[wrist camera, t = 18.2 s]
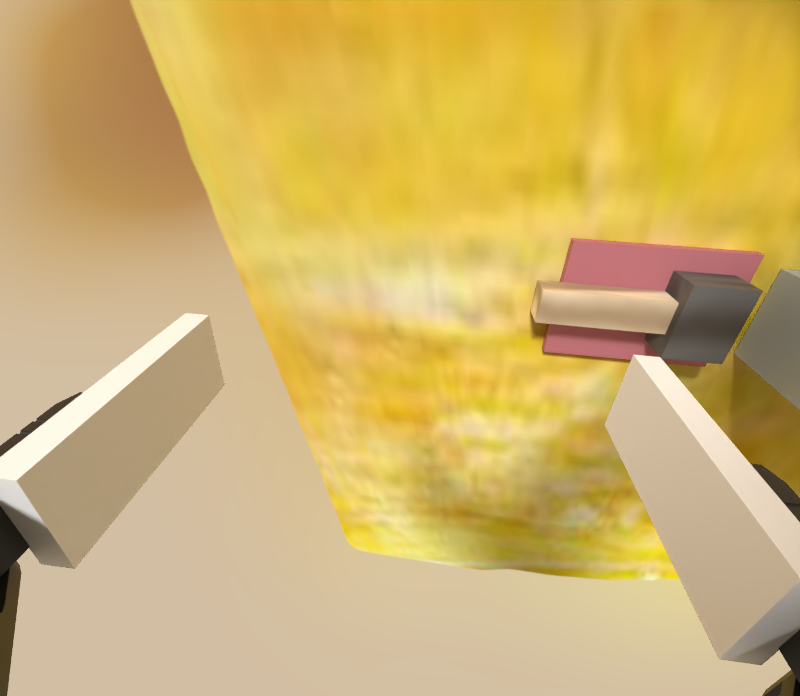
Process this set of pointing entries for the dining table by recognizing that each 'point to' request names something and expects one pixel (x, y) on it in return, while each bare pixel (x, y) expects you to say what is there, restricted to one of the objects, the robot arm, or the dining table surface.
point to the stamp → (658, 312)
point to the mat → (637, 271)
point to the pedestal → (776, 337)
